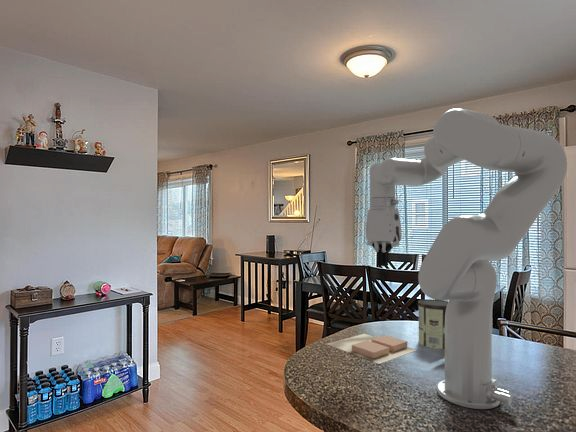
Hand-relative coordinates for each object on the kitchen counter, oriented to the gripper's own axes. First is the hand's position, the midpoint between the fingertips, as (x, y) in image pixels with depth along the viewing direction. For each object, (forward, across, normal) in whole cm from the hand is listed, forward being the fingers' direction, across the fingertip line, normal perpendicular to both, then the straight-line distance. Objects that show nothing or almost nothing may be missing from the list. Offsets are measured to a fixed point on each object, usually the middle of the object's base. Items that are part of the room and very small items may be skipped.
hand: (382, 265), depth 110 cm
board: (+26, +4, +1) cm, 26 cm away
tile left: (+24, +5, +5) cm, 25 cm away
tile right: (+24, +4, -4) cm, 24 cm away
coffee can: (+26, -7, -17) cm, 32 cm away
